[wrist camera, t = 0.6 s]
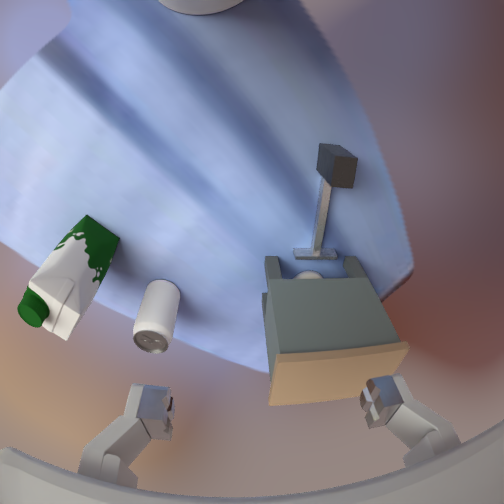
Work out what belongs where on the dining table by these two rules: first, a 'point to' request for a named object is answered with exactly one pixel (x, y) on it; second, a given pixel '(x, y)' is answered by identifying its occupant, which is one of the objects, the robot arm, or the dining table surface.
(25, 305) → the milk carton
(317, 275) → the coaster
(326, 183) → the block
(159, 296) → the can
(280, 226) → the dining table surface
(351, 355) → the cabinet
